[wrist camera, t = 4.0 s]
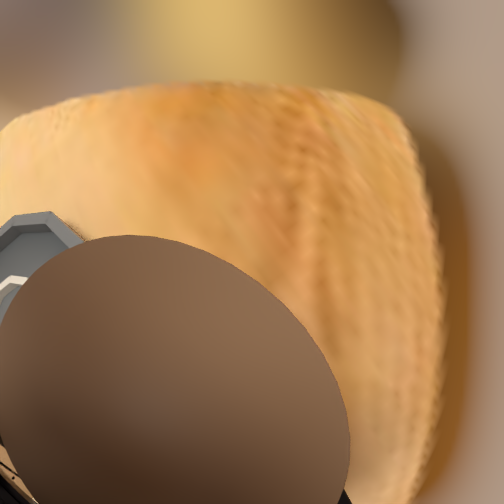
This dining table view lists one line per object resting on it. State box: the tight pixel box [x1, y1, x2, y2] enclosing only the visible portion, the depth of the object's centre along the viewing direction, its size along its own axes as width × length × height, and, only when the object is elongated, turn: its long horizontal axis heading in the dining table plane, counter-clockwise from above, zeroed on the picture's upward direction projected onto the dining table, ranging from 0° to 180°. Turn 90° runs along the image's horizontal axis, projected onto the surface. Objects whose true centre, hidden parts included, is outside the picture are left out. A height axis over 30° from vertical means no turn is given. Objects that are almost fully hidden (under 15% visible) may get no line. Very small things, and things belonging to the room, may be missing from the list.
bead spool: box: [0, 235, 350, 504], centre depth 9 cm, size 6×6×13 cm
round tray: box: [0, 211, 86, 325], centre depth 14 cm, size 20×20×2 cm
